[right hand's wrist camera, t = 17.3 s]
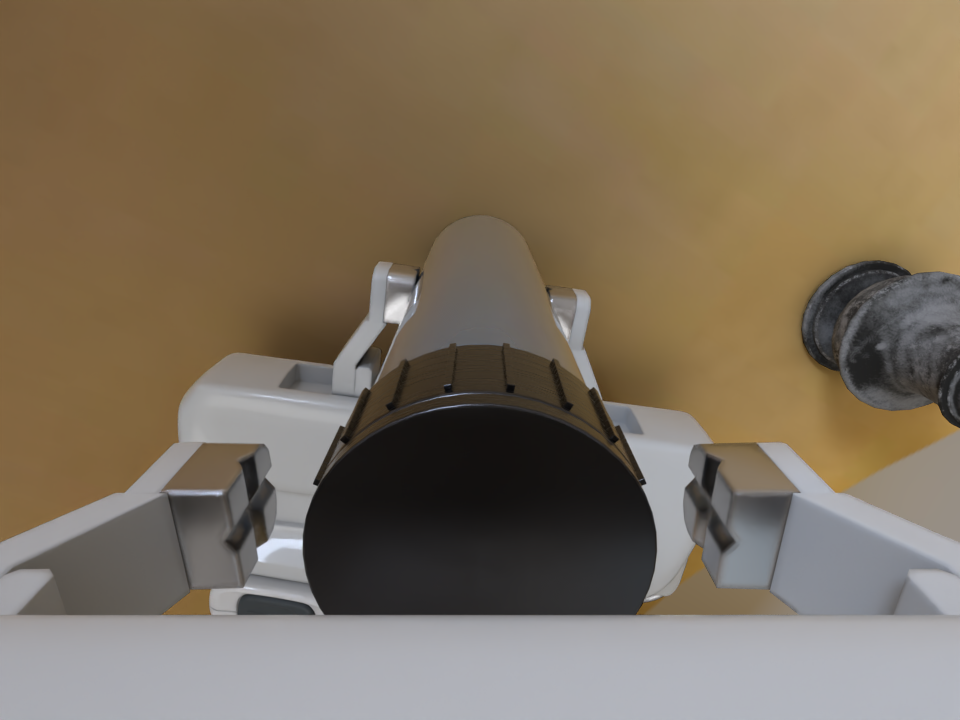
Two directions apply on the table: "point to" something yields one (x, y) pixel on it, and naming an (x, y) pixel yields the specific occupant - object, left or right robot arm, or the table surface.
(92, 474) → the table surface
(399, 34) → the table surface
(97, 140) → the table surface
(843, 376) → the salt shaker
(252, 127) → the table surface
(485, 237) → the grey cylindrical piece
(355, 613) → the lid
